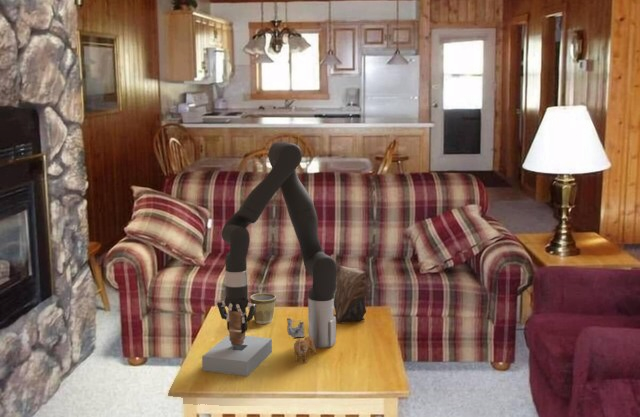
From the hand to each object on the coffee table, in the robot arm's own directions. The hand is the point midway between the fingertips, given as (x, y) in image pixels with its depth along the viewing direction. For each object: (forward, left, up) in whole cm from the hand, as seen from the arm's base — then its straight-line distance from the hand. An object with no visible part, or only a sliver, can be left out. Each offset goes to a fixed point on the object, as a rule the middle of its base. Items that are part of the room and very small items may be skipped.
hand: (237, 331), depth 265 cm
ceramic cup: (+7, -42, -11) cm, 44 cm away
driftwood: (-8, -36, -11) cm, 39 cm away
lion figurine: (-21, -8, -11) cm, 25 cm away
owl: (-23, -53, -11) cm, 59 cm away
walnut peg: (0, 0, -4) cm, 4 cm away
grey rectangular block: (0, 0, -11) cm, 11 cm away
